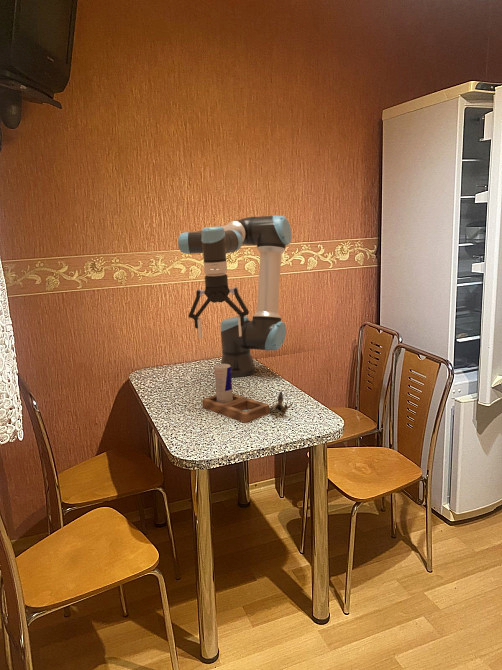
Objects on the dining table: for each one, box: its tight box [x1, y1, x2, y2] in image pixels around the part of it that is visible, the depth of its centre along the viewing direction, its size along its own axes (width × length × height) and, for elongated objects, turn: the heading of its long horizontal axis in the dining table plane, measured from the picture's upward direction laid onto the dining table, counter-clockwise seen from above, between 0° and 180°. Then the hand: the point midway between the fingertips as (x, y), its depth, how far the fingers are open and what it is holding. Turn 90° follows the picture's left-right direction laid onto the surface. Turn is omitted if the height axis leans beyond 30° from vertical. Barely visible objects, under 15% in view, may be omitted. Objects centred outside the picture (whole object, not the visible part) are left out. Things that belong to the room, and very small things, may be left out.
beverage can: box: [214, 363, 234, 404], centre depth 191 cm, size 6×6×15 cm
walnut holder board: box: [201, 392, 271, 424], centre depth 189 cm, size 22×11×3 cm, turn 43°
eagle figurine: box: [270, 391, 294, 418], centre depth 184 cm, size 8×7×9 cm
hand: (220, 336), depth 189 cm, fingers open, 13 cm apart
